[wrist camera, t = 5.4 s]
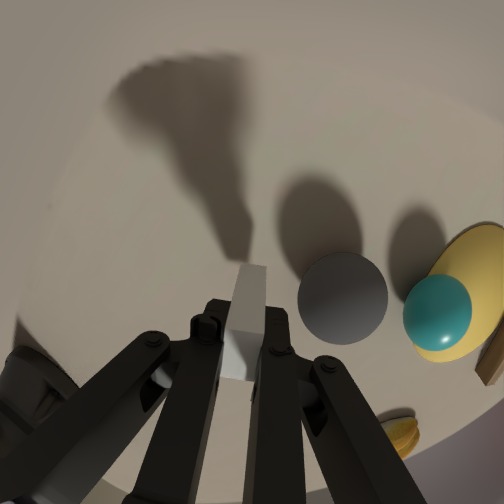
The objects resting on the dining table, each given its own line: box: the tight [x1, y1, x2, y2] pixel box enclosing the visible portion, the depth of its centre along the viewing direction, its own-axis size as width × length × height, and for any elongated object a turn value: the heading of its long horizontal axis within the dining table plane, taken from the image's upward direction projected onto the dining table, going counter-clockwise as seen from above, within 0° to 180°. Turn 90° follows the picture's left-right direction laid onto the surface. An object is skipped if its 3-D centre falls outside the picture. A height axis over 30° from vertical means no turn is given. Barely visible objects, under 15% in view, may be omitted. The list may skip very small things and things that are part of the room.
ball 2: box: [403, 274, 472, 351], centre depth 16 cm, size 6×6×6 cm
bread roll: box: [381, 417, 420, 459], centre depth 24 cm, size 8×9×4 cm
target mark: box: [414, 225, 504, 362], centre depth 18 cm, size 14×14×1 cm
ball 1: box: [298, 252, 388, 345], centre depth 16 cm, size 6×6×6 cm
